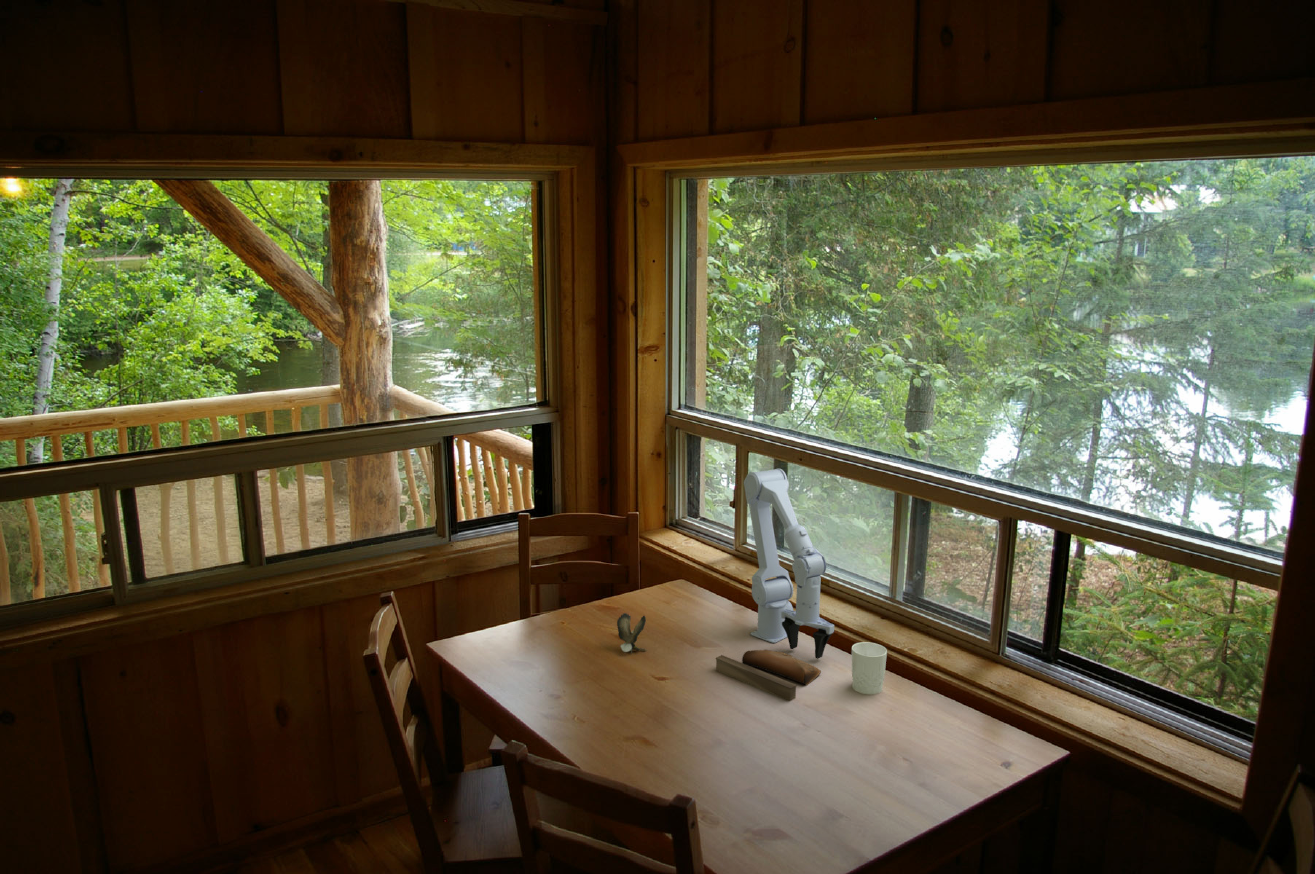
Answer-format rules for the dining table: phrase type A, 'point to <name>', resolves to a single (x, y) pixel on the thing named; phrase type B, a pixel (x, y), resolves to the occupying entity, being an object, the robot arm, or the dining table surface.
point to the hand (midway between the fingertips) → (806, 652)
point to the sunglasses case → (781, 665)
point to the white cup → (868, 667)
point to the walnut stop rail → (756, 677)
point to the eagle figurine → (629, 632)
